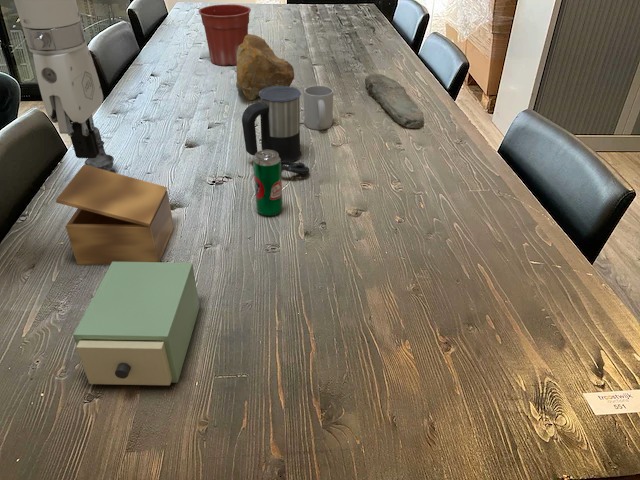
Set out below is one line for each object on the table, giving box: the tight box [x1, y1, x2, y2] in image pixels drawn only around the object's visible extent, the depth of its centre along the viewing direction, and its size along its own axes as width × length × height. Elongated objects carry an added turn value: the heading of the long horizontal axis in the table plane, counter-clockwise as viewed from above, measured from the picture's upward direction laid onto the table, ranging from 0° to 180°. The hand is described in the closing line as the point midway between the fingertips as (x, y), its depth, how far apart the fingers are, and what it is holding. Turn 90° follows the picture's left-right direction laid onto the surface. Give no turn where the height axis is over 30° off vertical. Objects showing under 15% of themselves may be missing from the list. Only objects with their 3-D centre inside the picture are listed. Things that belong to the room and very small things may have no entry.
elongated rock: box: [364, 73, 425, 129], centre depth 149 cm, size 35×5×10 cm
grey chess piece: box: [84, 126, 117, 173], centre depth 113 cm, size 6×6×12 cm
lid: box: [55, 163, 168, 227], centre depth 90 cm, size 14×12×1 cm
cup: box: [303, 85, 334, 131], centre depth 135 cm, size 7×10×9 cm
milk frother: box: [241, 86, 310, 176], centre depth 117 cm, size 14×16×15 cm
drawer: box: [75, 339, 172, 386], centre depth 72 cm, size 15×10×7 cm
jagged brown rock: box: [235, 33, 295, 101], centre depth 153 cm, size 23×17×15 cm
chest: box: [65, 190, 175, 266], centre depth 93 cm, size 14×12×8 cm
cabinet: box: [72, 261, 201, 384], centre depth 74 cm, size 15×12×9 cm
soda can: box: [252, 149, 284, 217], centre depth 102 cm, size 5×5×12 cm
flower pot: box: [198, 3, 252, 67], centre depth 176 cm, size 16×16×16 cm
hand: (88, 155), depth 85 cm, fingers closed
